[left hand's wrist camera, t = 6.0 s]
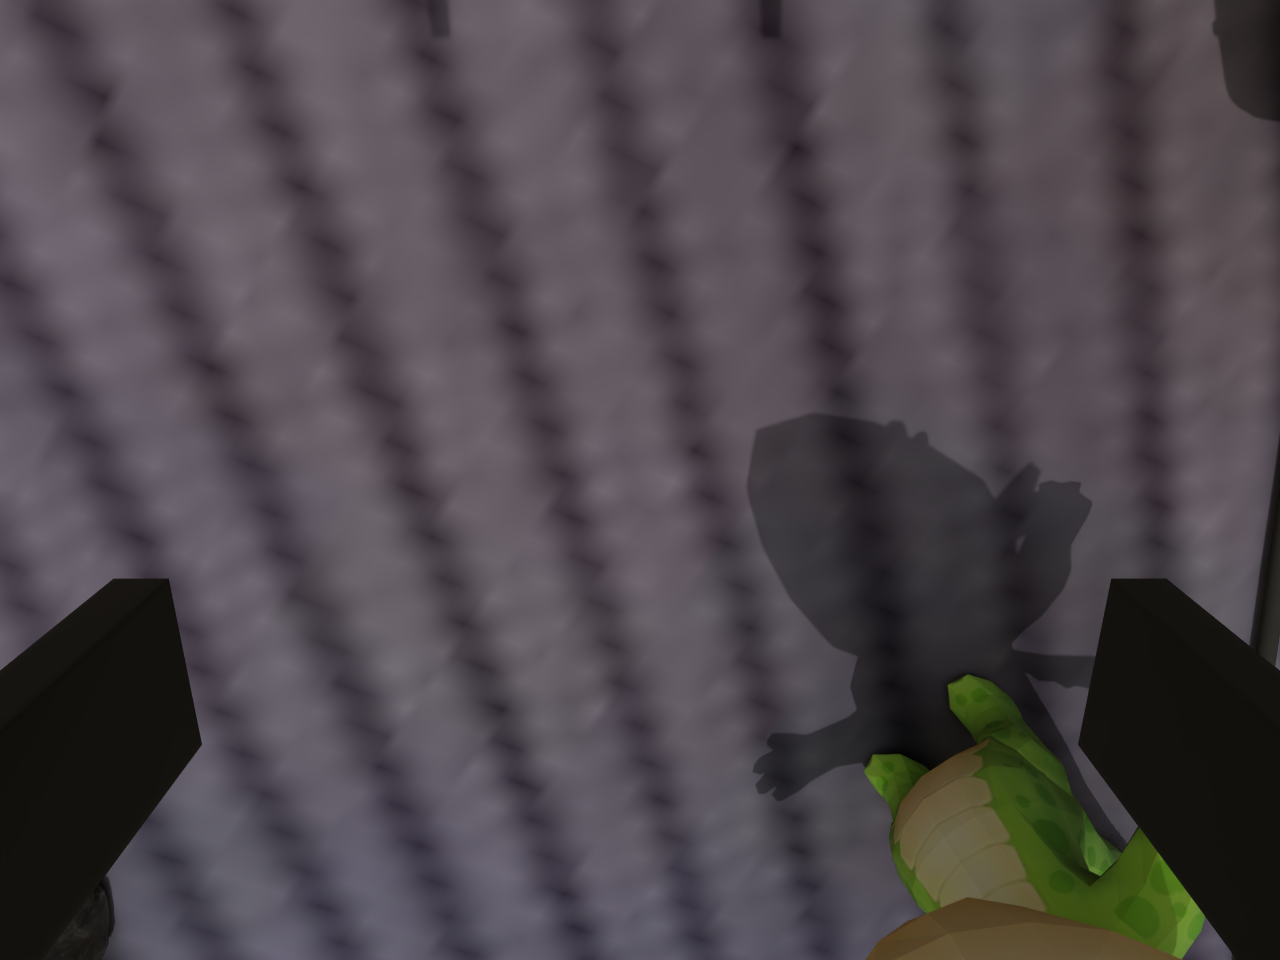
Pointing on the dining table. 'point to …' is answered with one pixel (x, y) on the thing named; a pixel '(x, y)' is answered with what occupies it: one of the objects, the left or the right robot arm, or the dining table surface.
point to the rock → (85, 931)
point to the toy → (1018, 855)
